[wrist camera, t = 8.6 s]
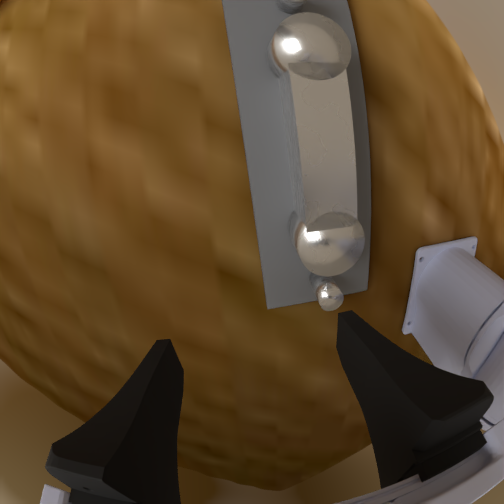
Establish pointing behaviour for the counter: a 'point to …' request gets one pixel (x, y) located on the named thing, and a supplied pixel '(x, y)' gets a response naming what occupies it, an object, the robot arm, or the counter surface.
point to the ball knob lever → (318, 140)
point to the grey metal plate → (276, 153)
